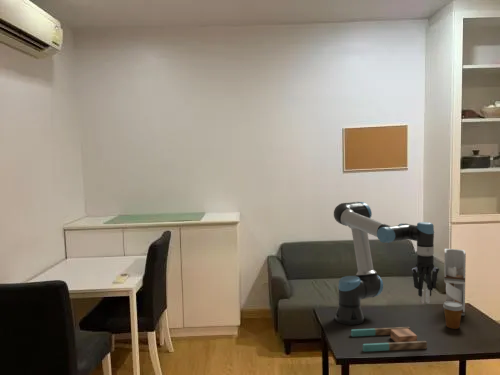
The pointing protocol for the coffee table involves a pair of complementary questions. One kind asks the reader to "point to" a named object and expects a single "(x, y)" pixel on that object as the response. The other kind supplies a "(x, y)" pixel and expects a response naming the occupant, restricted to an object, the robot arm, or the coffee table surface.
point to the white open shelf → (455, 276)
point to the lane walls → (401, 344)
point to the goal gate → (373, 345)
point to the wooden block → (403, 335)
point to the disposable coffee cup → (452, 314)
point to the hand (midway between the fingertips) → (424, 302)
